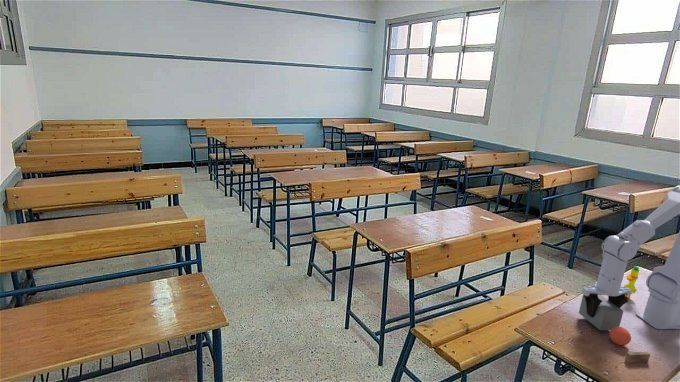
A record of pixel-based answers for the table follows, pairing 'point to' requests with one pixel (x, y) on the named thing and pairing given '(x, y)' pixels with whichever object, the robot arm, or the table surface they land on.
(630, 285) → the toy figure
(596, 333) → the table surface
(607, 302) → the gray block
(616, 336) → the ball
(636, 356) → the brown block
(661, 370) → the table surface
